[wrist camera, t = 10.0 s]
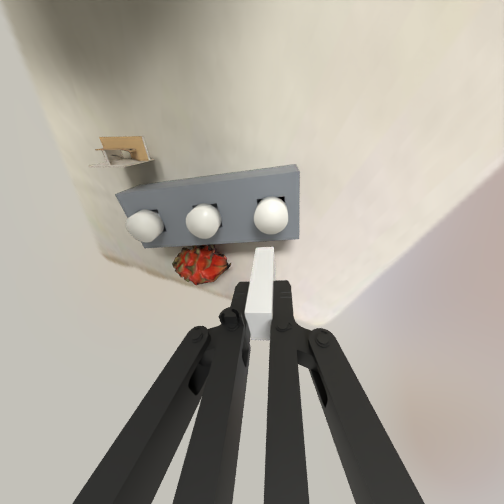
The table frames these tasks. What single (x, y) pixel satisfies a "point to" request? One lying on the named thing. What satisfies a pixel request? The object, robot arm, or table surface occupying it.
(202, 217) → the knob mid
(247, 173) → the mount
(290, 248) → the table surface
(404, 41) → the table surface
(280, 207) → the knob near
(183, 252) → the dragon fruit
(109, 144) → the architectural model
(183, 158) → the table surface
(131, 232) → the knob far
